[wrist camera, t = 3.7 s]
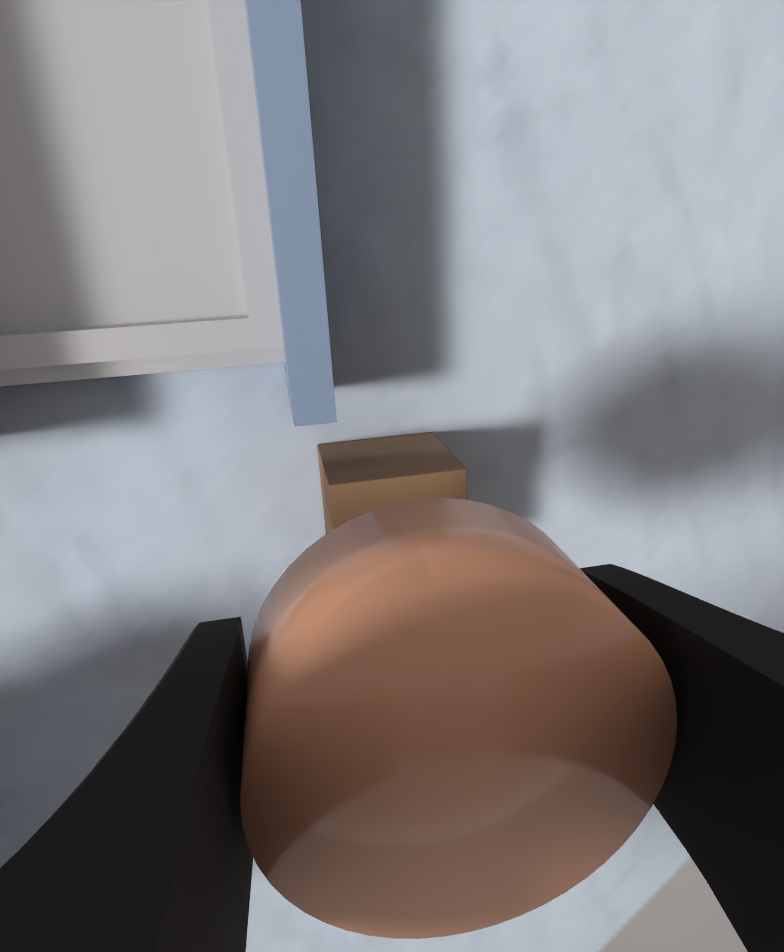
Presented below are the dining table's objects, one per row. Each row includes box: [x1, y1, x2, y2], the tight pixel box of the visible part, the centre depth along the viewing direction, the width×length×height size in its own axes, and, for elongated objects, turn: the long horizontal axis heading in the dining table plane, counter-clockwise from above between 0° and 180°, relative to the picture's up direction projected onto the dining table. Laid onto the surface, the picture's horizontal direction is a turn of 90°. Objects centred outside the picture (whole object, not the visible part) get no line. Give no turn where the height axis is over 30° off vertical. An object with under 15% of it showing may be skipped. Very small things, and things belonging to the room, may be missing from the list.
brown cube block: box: [317, 432, 467, 534], centre depth 18 cm, size 4×4×4 cm
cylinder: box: [240, 498, 677, 939], centre depth 8 cm, size 5×5×2 cm
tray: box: [0, 0, 337, 426], centre depth 13 cm, size 13×11×4 cm
